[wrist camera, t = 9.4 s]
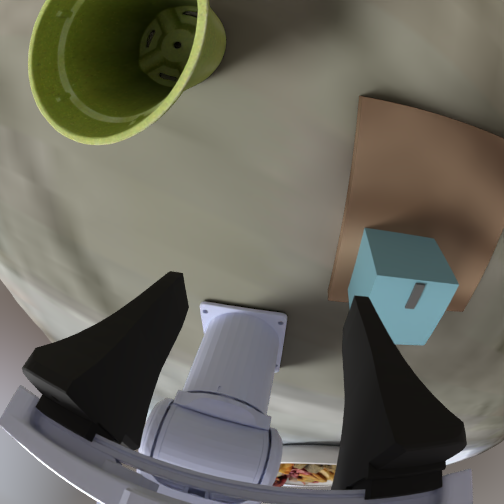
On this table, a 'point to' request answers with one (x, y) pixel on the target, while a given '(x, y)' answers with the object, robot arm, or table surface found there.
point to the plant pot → (118, 63)
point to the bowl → (307, 465)
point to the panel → (423, 190)
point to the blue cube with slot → (403, 283)
